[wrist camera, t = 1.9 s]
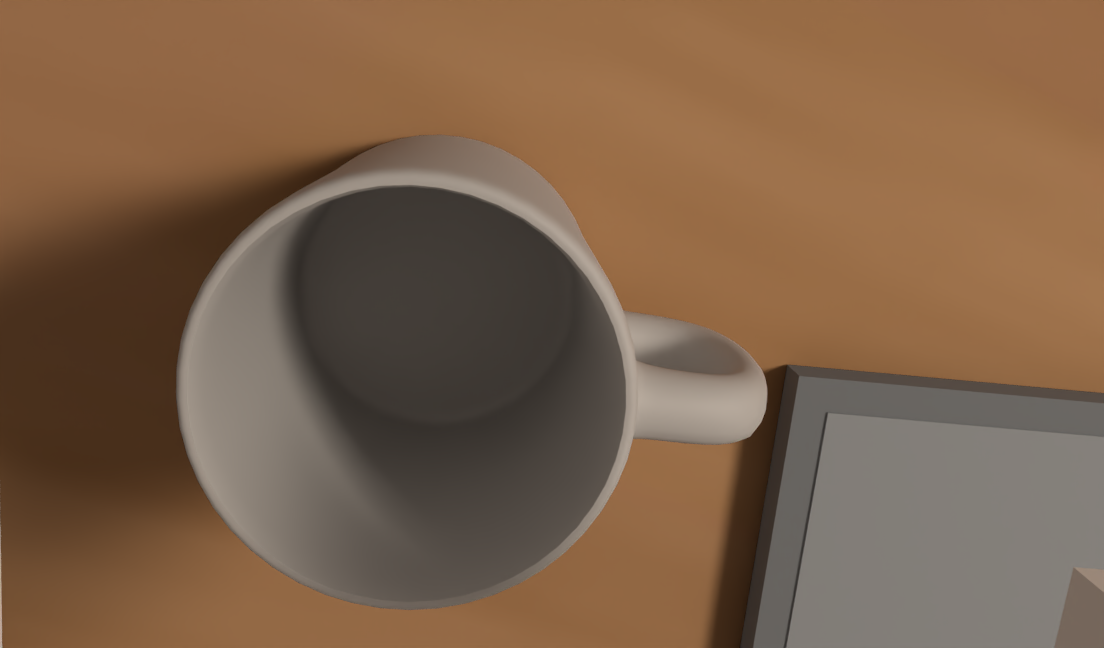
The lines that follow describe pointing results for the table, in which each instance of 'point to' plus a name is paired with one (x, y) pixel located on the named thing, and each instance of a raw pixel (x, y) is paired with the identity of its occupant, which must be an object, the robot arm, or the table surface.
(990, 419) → the coaster
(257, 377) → the mug
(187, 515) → the table surface
